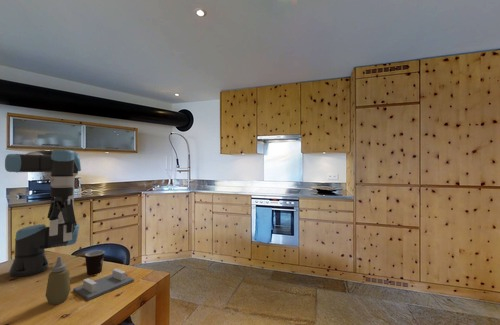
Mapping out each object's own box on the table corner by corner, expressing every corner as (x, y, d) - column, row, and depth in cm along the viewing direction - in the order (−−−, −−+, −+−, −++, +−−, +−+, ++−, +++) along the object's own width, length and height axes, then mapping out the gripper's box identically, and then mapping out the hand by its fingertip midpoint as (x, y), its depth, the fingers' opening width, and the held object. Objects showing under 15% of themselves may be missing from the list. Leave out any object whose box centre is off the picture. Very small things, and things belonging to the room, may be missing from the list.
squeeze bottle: (74, 298, 100) (75, 255, 100) (51, 308, 92) (53, 262, 93) (63, 294, 103) (64, 252, 104) (40, 303, 96) (42, 258, 96)
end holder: (73, 291, 106) (73, 280, 106) (117, 274, 123) (118, 265, 123) (88, 300, 99) (89, 289, 99) (133, 281, 116) (134, 271, 116)
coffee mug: (94, 276, 120) (95, 256, 120) (80, 275, 121) (80, 255, 122) (112, 267, 131) (112, 249, 131) (98, 266, 133) (99, 248, 133)
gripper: (39, 185, 102) (37, 235, 102) (64, 188, 89) (62, 245, 89) (59, 184, 109) (58, 231, 108) (86, 187, 96) (85, 240, 95)
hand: (60, 238), depth 98 cm, fingers open, 13 cm apart
